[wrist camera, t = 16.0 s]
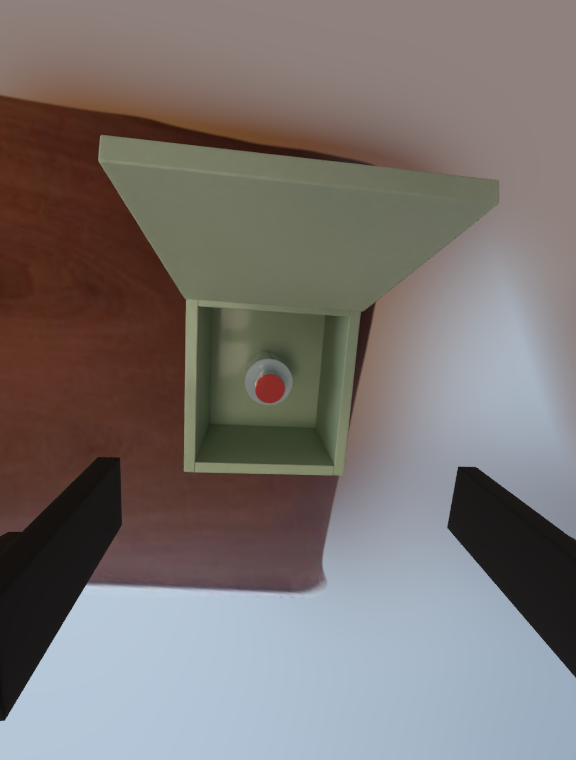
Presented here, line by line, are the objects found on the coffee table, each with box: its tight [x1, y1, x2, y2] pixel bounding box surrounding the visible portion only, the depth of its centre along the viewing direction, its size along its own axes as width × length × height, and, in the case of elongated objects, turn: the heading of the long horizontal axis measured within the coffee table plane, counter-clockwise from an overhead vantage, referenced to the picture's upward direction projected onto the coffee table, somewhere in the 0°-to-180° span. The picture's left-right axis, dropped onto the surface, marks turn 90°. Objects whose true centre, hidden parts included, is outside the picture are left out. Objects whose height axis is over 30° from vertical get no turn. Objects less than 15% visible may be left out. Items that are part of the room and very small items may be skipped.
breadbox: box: [184, 299, 361, 475], centre depth 38 cm, size 16×15×12 cm
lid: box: [98, 135, 499, 311], centre depth 22 cm, size 17×15×1 cm
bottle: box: [245, 350, 292, 405], centre depth 38 cm, size 5×5×10 cm
